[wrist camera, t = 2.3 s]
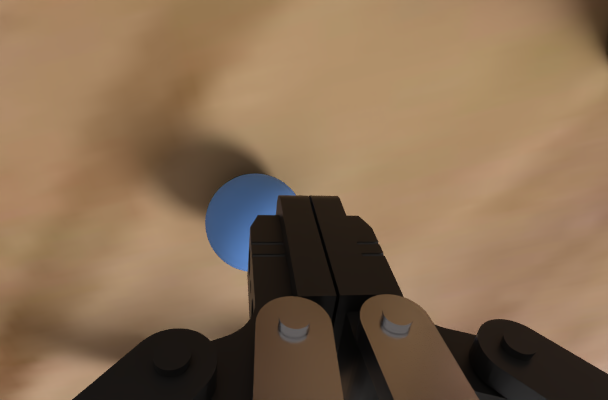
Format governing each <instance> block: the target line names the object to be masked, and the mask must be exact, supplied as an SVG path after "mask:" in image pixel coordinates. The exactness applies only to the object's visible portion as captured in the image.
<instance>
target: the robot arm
mask: <svg viewBox="0 0 608 400" xmlns="http://www.w3.org/2000/svg"><path fill="white" fill-rule="evenodd" d="M247 276H248V296H249V316H250V320H249V321H248V323H247V324H246V325H245V326H244V327H242V328H241V329H240V330H238V331H236V332H235V333H233V334H231V335H228V336H225V337H222V338H219V339H216V340H213V341H210V340H209V339H208V338H207V337H205V336H204V335H202V334H200V333H198V332H196V331H193V330H189V329H168V330H164V331H160V332H158V333H155V334H153V335H151V336H149V337H147V338H146V339H145V340H143V341H142V342H141V343H139V344H138V345H137V346H136V347H135V348H133V349H132V350H131V351H130V352H129V353H127V354H126V355H125V356H124V357H123V358H121V359H120V360H119V361H118V362H117V363H116V364H114V365H113V366H112V367H111V368H110V369H108V370H107V371H106V372H105V373H104V374H102V375H101V376H100V377H99V378H98V379H96V380H95V381H94V382H93V383H92V384H90V385H89V386H88V387H87V388H86V389H84V390H83V391H82V392H81V393H80V394H78V395H77V396H76V397H75V398H74V399H72V400H608V374H607V373H605V372H603V371H602V370H600V369H598V368H597V367H595V366H593V365H591V364H590V363H588V362H586V361H585V360H583V359H581V358H579V357H578V356H576V355H574V354H573V353H571V352H569V351H568V350H566V349H564V348H562V347H561V346H559V345H557V344H556V343H554V342H552V341H551V340H549V339H547V338H545V337H544V336H542V335H540V334H539V333H537V332H535V331H533V330H532V329H530V328H528V327H526V326H524V325H522V324H520V323H517V322H514V321H510V320H504V319H495V320H490V321H487V322H485V323H484V324H483V325H482V326H481V327H480V329H479V331H478V333H477V335H473V334H468V333H464V332H460V331H455V330H451V329H446V328H443V327H439V326H437V325H434V323H433V322H432V320H431V318H430V317H429V315H428V314H427V313H426V311H425V310H424V309H423V308H421V307H420V306H419V305H418V304H416V303H415V302H413V301H411V300H409V299H407V298H404V297H403V294H402V292H401V290H400V288H399V286H398V284H397V281H396V279H395V277H394V275H393V273H392V271H391V268H390V266H389V264H388V262H387V260H386V258H385V256H383V251H382V249H381V247H380V245H379V244H378V240H377V238H376V236H375V234H374V232H373V229H372V228H371V227H370V226H369V225H368V224H367V223H366V222H365V221H364V220H362V219H361V218H360V217H359V216H346V213H345V211H344V208H343V206H342V203H341V201H340V198H339V197H338V196H309V197H308V196H295V195H279V196H278V199H277V207H276V215H257V217H256V219H255V220H254V222H253V223H252V225H251V227H250V237H249V256H248V275H247Z"/></svg>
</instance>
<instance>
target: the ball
mask: <svg viewBox="0 0 608 400" xmlns="http://www.w3.org/2000/svg"><path fill="white" fill-rule="evenodd" d="M279 195H295V193H294V192H293V191H292V190H291V188H289V187H288V186H287V185H286V184H285V183H284V182H282V181H280V180H279V179H277V178H275V177H272V176H269V175H265V174H257V173H255V174H245V175H241V176H238V177H236V178H233V179H232V180H230V181H228V182H227V183H225V184H224V185H223V186H222V187H220V188H219V190H218V191H217V192H216V193H215V194H214V196H213V198H212V199H211V201H210V203H209V206H208V209H207V213H206V220H205V225H206V233H207V237H208V240H209V242H210V245H211V247H212V248H213V250H214V251H215V253H216V254H217V255H218V256H219V257H220V258H221V259H222V260H223V261H224V262H226V263H227V264H229V265H230V266H232V267H234V268H237V269H239V270H243V271H248V256H249V237H250V227H251V225H252V223H253V222H254V220H255V219H256V217H257V215H276V207H277V199H278V196H279ZM295 196H296V195H295Z"/></svg>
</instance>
